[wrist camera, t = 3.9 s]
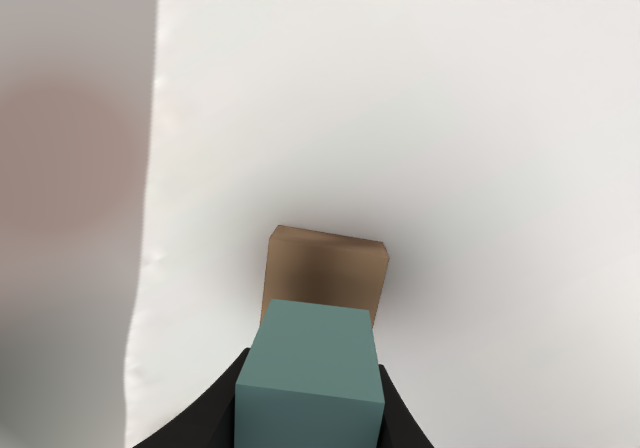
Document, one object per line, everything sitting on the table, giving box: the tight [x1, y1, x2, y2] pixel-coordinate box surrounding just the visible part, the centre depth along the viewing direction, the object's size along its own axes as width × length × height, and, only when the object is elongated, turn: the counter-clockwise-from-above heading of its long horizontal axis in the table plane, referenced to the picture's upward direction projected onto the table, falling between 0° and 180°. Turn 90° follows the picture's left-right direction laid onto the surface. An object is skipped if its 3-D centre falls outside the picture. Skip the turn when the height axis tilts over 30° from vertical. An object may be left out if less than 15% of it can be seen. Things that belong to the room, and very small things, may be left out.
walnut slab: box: [260, 225, 389, 329], centre depth 20 cm, size 7×7×3 cm
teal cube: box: [234, 299, 385, 448], centre depth 12 cm, size 4×4×5 cm
